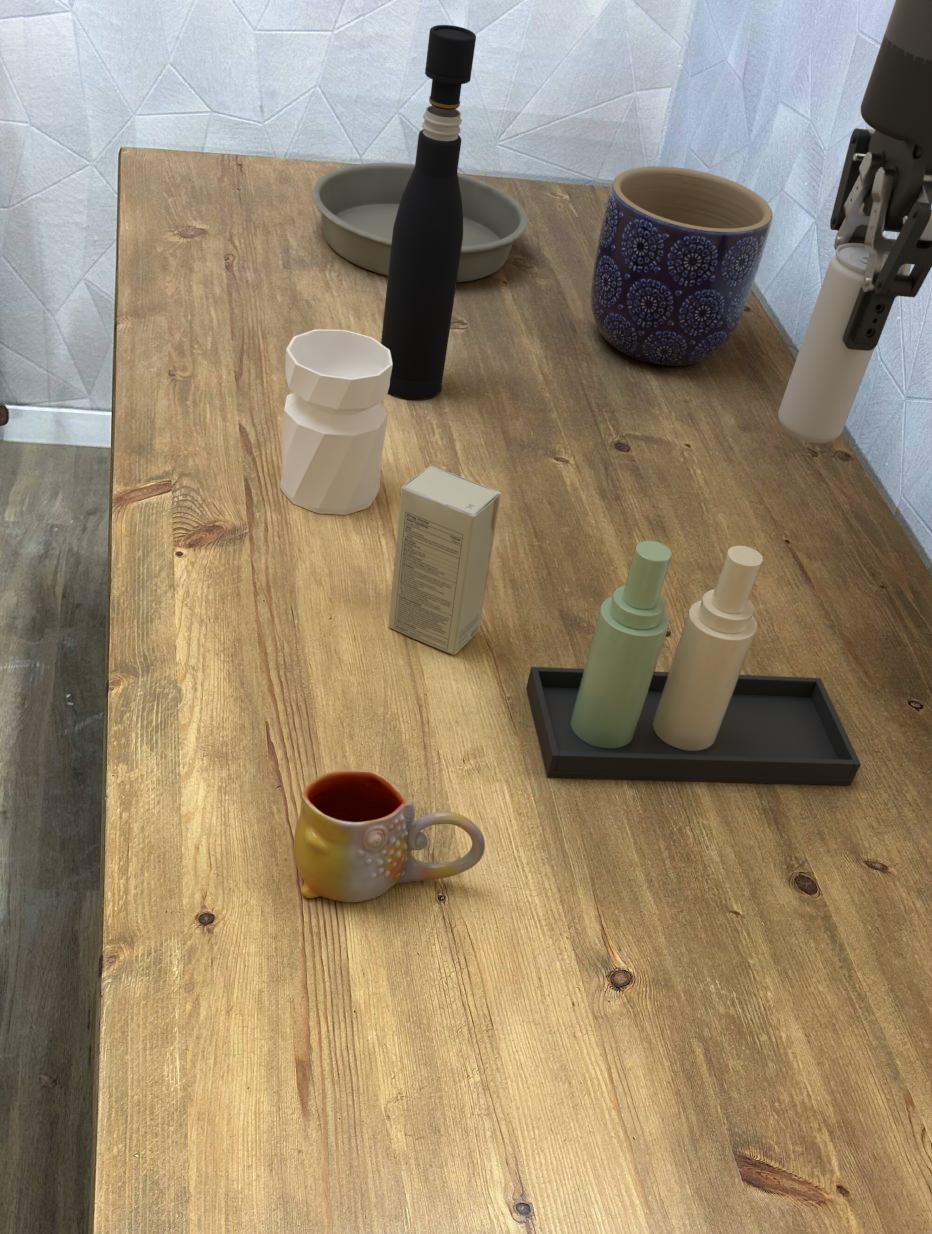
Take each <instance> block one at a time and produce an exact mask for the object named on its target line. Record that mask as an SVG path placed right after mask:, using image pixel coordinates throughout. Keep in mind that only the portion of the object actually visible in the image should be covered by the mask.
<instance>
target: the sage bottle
mask: <svg viewBox="0 0 932 1234" xmlns="http://www.w3.org/2000/svg"><path fill="white" fill-rule="evenodd" d="M672 556H673V555H672V551H671V549H670V548H669V547H668V546H667V545H665V544H663V543H661V542H659V541H654V540H642V541H640V542H638V543H637V544H636V546H635V549H634V552H633V556H632V559H631V563H630V566H629V570H628V574H627V578H626V581H625V584H624V585H622V586H619V587H617V589H615V590H614V592H613V594H612V596H609V597H607V598H606V599H604V600H603V602H602V603H601V605H600V608H599V612H598V616H597V620H596V624H595V627H594V631H593V633H592V634H593V635H592V639H591V641H590V646H589V650H588V653H587V657H586V661H585V665H584V667H583V669H584V672H583V676H582V679H581V683H580V687H579V691H578V694H577V698H576V702H575V706H574V709H573V713H572V717H571V727H572V730H573V731H574V733H575V734H576V735H577V736H578V737H579V738H580V739H581V740H583V741H584V742H586V743H588V744H590V745H593V746H596V747H600V748H607V749H613V748H619V747H623V746H625V745H627V744H628V743H630V742H631V741H632V739H633V737H634V735H635V731H636V728H637V725H638V722H639V719H640V716H641V712H642V709H643V706H644V703H645V700H646V697H647V693H648V690H649V687H650V684H651V681H652V678H653V674H654V672H656V668H657V665H658V662H659V658H660V656H661V652H662V650H663V649H662V648H663V646H664V643H665V639H666V636H667V634H668V630H669V627H670V621H671V619H670V616H669V614H668V612H667V610H666V601H665V599H664V597H663V596H662V594H661V592H662V589H663V585H664V582H665V579H666V577H667V572H668V569H669V566H670V563H671V560H672Z"/></svg>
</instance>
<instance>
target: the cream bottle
mask: <svg viewBox="0 0 932 1234" xmlns="http://www.w3.org/2000/svg"><path fill="white" fill-rule="evenodd" d="M763 562H764V557H763V555H762V554H761V553H760V551H758V550H756V549H754V548H752V547H750V546H746V545H734V546H731V547H729V548H728V550H727V551H726V555H725V558H724V561H723V563H722V566H721V570H720V572H719V576H718V578H717V582H716V584H715V586H714V588H713V589H710V590H707V591H706V592H705V593H704V594H703V595H702V598H701V599H699V600H697V601H695V602H694V603H692V604H691V606H690V607H689V610H688V612H687V616H686V618H685V622H684V624H683V628H682V631H681V634H680V637H679V640H678V643H677V646H676V649H675V652H674V656H673V658H672V661H671V665H670V668H669V671H668V672H669V674H668V677H667V680H666V683H665V686H664V689H663V692H662V695H661V698H660V701H659V704H658V707H657V710H656V713H655V716H654V720H653V728H654V731H655V733H656V734H657V736H658V737H659V738H660V739H661V740H662V741H664V742H665V743H667V744H668V745H670V746H672V747H675V748H678V749H681V750H686V751H700V750H704V749H706V748H708V747H710V746H711V745H712V744H713V743H714V742H715V740H716V737H717V734H718V732H719V729H720V726H721V724H722V721H723V718H724V716H725V713H726V710H727V708H728V705H729V702H730V700H731V697H732V694H733V692H734V689H735V686H736V684H737V681H738V678H739V676H740V675H741V673H742V671H743V667H744V665H745V662H746V659H747V657H748V655H749V651H750V649H751V646H752V643H753V641H754V637H755V636H756V633H757V631H758V622H757V619H756V618H755V616H754V613H755V607H754V604H753V602H752V601H751V600H750V597H751V595H752V592H753V590H754V586H755V584H756V582H757V578H758V575H759V573H760V570H761V568H762V565H763Z"/></svg>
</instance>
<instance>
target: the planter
mask: <svg viewBox="0 0 932 1234" xmlns="http://www.w3.org/2000/svg"><path fill="white" fill-rule="evenodd" d="M773 217H774V215H773V210H772V208H771V206H770V205H769V203H768V202H767V201H766V200H765V199H764V198H763V197H762V196H760V195H759V194H758V193H757V192H755V191H754V190H752V189H750V188H749V187H746V186H744V185H743V184H740V183H738V182H737V181H733V180H730V179H729V178H725V177H722V176H719V175H717V174H713V173H709V172H705V171H701V170H696V169H692V168H691V169H690V168H684V167H678V166H677V167H674V166H661V165H660V166H659V165H657V166H656V165H655V166H641V167H634V168H630V169H627V170H625V171H623V172H621V173H619V174H618V175H616V176H615V178H613V180H612V182H611V185H610V189H609V193H608V197H607V201H606V206H605V209H604V214H603V218H602V223H601V227H600V232H599V236H598V237H599V238H598V242H597V248H596V254H595V258H594V263H593V271H592V277H591V286H590V309H591V314H592V318H593V320H594V322H595V325H596V327H597V329H598V331H599V332H600V334H601V336H602V337H603V339H605V340H606V341H607V343H609V345H610V346H611V347H612V348H613V349H616V350H617V351H618V352H620V353H622V354H624V355H626V356H627V357H630V358H632V359H634V360H638V361H639V362H640V361H642V362H644V363H648V364H653V365H657V366H664V367H665V366H667V367H682V366H690V365H694V364H697V363H699V362H702V361H704V360H707V359H709V358H710V357H712V356H713V355H715V354H716V353H717V352H718V351H719V350H721V349H722V348H723V347H724V346H725V345H726V344H727V343H728V342H729V341H730V339H731V338H732V337H733V335H734V333H735V331H736V330H737V328H738V326H739V323H740V321H741V318H742V316H743V313H744V311H745V308H746V306H747V303H748V301H749V298H750V295H751V292H752V289H753V287H754V283H755V280H756V277H757V274H758V271H759V268H760V264H761V262H762V257H763V255H764V251H765V248H766V244H767V242H768V237H769V234H770V230H771V226H772V222H773Z"/></svg>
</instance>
